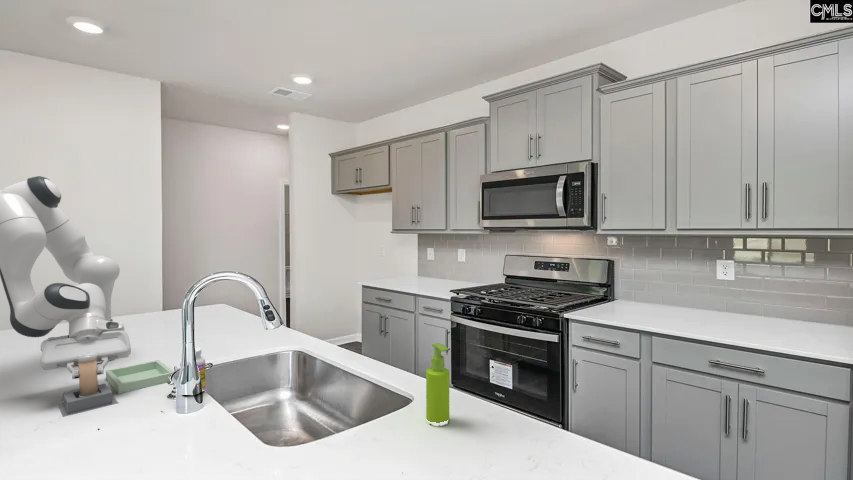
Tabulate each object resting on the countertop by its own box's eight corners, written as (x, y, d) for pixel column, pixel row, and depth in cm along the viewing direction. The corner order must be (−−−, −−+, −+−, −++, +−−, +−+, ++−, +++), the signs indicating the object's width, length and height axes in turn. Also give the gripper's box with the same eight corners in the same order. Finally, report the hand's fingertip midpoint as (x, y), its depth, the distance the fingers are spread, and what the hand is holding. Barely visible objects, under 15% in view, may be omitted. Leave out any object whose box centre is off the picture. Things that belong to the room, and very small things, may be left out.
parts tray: (106, 381, 142) (105, 370, 142) (159, 369, 153) (158, 359, 153) (118, 396, 129) (118, 385, 129) (175, 383, 140) (175, 372, 140)
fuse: (78, 397, 123) (75, 355, 122) (97, 393, 126) (95, 351, 125) (80, 402, 120) (78, 358, 119) (100, 397, 123) (98, 354, 122)
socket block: (57, 406, 123) (56, 392, 122) (109, 394, 131) (109, 381, 131) (63, 420, 114) (62, 405, 114) (118, 406, 123) (118, 392, 123)
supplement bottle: (195, 397, 129) (194, 354, 128) (175, 395, 130) (174, 352, 130) (210, 389, 135) (209, 347, 135) (191, 387, 137) (190, 346, 136)
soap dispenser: (435, 430, 108) (435, 349, 107) (422, 419, 114) (422, 342, 114) (455, 425, 111) (455, 346, 110) (442, 414, 117) (442, 339, 116)
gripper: (39, 332, 122) (36, 378, 114) (129, 322, 133) (131, 362, 126) (42, 345, 125) (39, 389, 118) (129, 333, 137) (132, 373, 130)
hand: (88, 375), depth 122 cm, fingers closed on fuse, 4 cm apart
